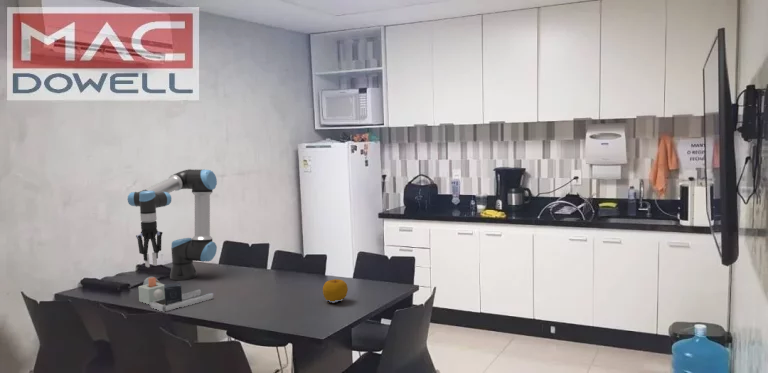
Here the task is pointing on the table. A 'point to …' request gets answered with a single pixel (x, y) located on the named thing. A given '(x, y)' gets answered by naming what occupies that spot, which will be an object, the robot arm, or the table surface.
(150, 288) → the cabinet
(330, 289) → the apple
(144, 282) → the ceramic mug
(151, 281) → the gauge plunger
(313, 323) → the table surface
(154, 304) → the rail
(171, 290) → the box
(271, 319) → the table surface
